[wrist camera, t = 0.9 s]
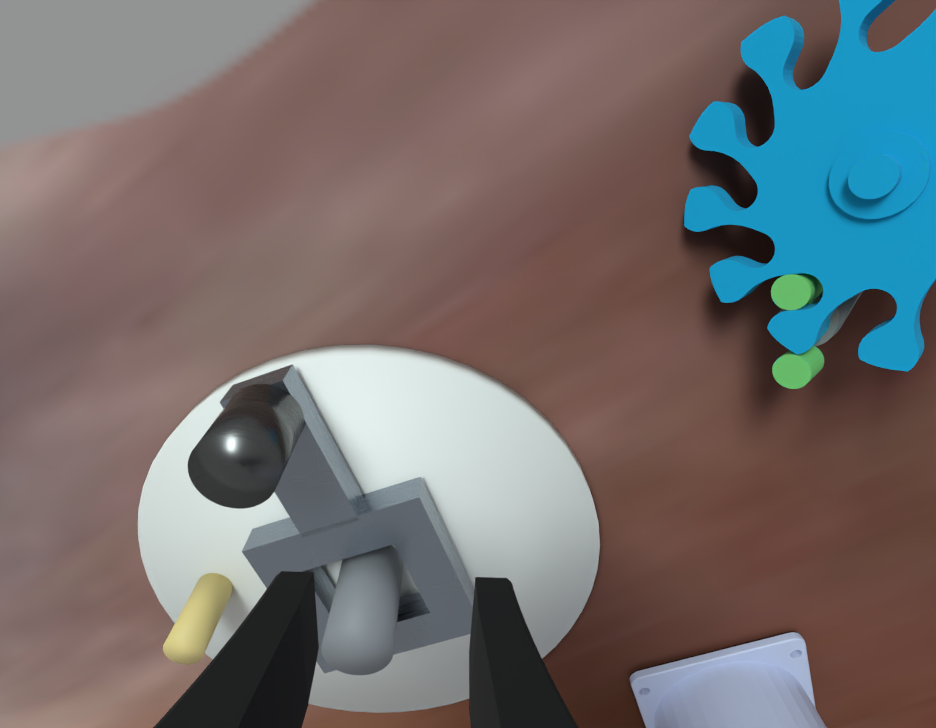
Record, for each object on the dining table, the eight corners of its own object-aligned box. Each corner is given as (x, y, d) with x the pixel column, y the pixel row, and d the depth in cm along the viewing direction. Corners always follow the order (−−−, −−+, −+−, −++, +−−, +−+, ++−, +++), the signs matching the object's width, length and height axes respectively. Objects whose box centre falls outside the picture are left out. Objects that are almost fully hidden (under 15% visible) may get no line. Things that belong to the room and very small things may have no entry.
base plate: (637, 635, 26) (675, 747, 22) (280, 728, 29) (247, 847, 24) (518, 273, 19) (538, 327, 15) (54, 434, 21) (-54, 525, 17)
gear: (765, -99, 14) (1421, -54, 9) (834, -48, 18) (1311, 5, 12) (617, 308, 20) (951, 485, 14) (693, 278, 24) (977, 409, 18)
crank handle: (482, 606, 24) (487, 703, 20) (330, 647, 24) (307, 749, 21) (354, 336, 19) (328, 398, 15) (168, 400, 19) (98, 474, 16)
